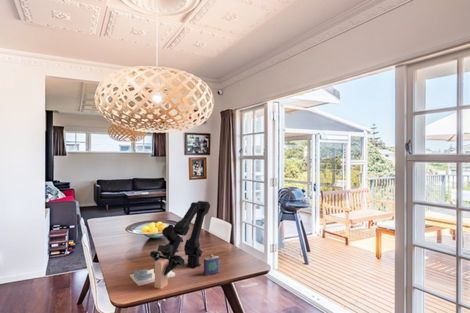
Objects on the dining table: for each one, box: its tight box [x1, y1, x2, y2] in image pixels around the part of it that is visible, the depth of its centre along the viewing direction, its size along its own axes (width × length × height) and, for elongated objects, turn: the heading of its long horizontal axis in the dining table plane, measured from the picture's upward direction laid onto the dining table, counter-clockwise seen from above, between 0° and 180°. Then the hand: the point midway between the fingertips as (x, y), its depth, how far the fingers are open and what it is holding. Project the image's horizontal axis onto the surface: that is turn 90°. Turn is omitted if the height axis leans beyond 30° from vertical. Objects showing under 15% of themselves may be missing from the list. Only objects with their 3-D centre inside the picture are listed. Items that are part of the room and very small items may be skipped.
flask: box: [203, 254, 220, 277], centre depth 162 cm, size 9×3×11 cm, turn 122°
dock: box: [129, 268, 176, 286], centre depth 158 cm, size 20×13×4 cm, turn 128°
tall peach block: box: [154, 258, 169, 290], centre depth 147 cm, size 5×4×13 cm
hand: (159, 274), depth 145 cm, fingers open, 6 cm apart
